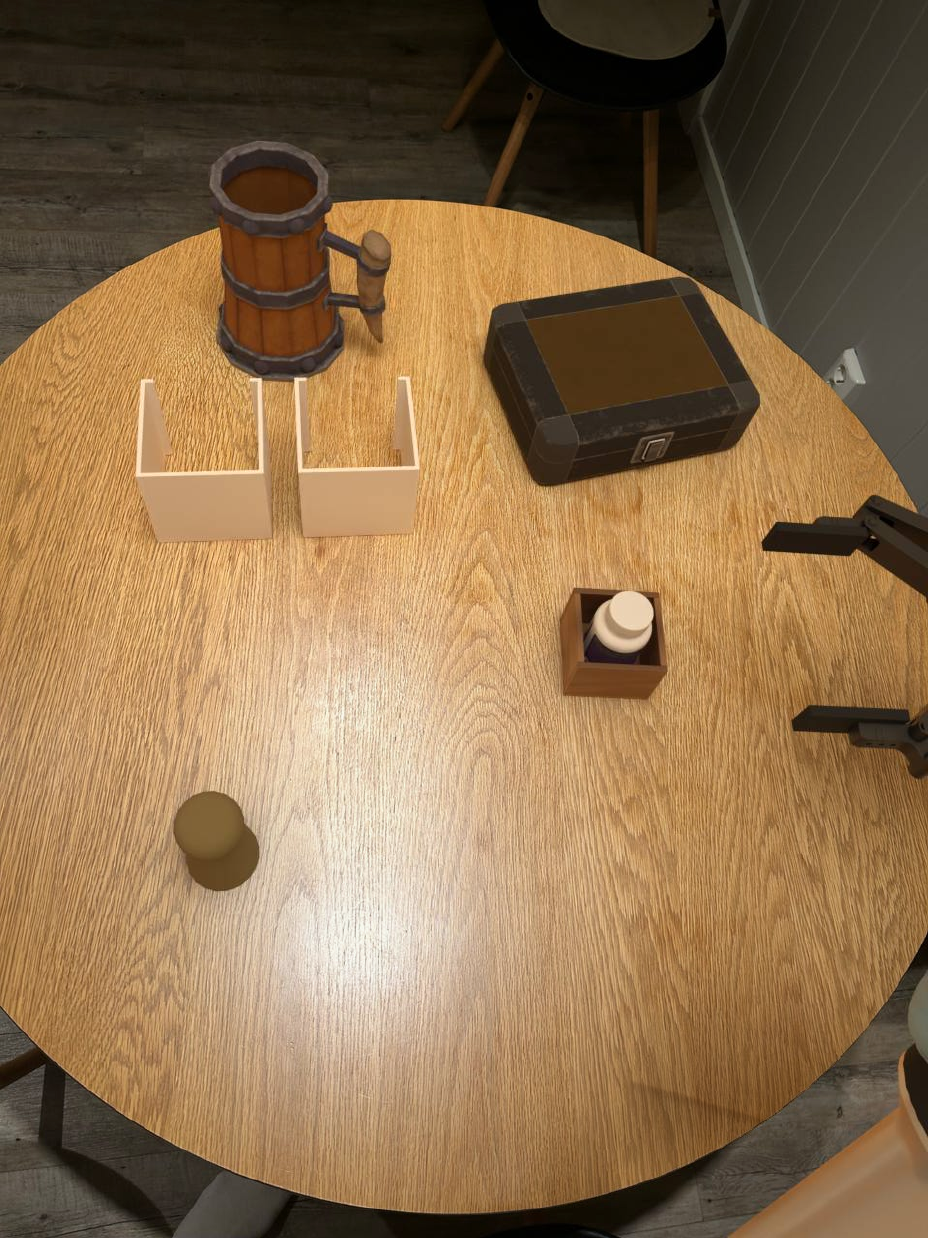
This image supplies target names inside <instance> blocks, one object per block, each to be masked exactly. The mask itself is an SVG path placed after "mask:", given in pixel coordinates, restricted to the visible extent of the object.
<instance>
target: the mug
mask: <svg viewBox="0 0 928 1238" xmlns="http://www.w3.org/2000/svg"><path fill="white" fill-rule="evenodd" d="M207 178H208V180H209V185H208V188H209V195H210V202H209V208H210V210H211V212H212V213H213V214H214V215H216V216H217V219H218V220H217V221H218V227H219V234H220V241H221V255H220V263H219V264H220V269H221V271H220V272H221V277H222V279H223V281H224V283H223V284H224V300H223V301H222V303H220V304H219V306H218V313H219V314H218V321H217V322H218V323H217V330H216V343H217V345H218V346H219V348H220V349H221V351H222V352H223V354H224V356H225V357H226V359H227V361H228V362H229V364H230V366H232V367H234V368H236V369H237V370H240V371H241V372H244V373H246V374H248V375H250V376H251V377H252V378H262V381H266V382H284V383H285V382H287V383H289V382H290V383H295V380H294V378H306V379H308V378H310V377H313V376H315V375H318V374H321V373H323V372H326V371H327V370H328V369H329V368H330V367H331V366H332V364H333V363H334V362H335V361H336V359H337V358H338V357H339V356H340V355H341V354H342V352H343V351H344V350H345V324H346V321H345V319H344V318H343V317H342V315H341V314H340V307H343V308H350V309H358V311H359V312H360V313H361V314H362V316H363V318H364V321H365V323H366V326H367V328H368V331H369V333H370V334H371V335H372V337H373V338H374V339H375V341H377V342H378V343H379V344H381V345H382V344H384V333H383V315H384V313H385V311H386V309H387V304H386V296H385V294H384V289H385V285H386V279H387V274H388V272H389V270H390V267H391V265H392V255H393V254H392V253H393V252H392V244H391V243H390V242H389V240H388V239H387V238H386V236H385V235H384V234H383V233H381V232H380V231H376V230H373V229H369V230H368V231H366V232H365V233H363V234H362V238H361V243H360V245H358V244H356V243H354V242H352V241H350V240H348V239H346V238H344V237H341V236H339V235H338V234H336V233H333V232H331V231H329V230H328V229H329V228H328V222H326V215H327V214H329V213H330V212H331V211H332V208H333V206H334V203H333V200H332V198H331V196H330V195H329V194H330V193H329V192H330V189H329V171H328V170H327V168H326V167H325V166H323V165H322V164H321V162H320V161H319V160H318V159H317V157H316V156H315V155H314V154H312V153H310V152H308V151H306V150H303V149H301V148H299V147H297V146H295V145H292V144H290V143H288V142H278V141H266V140H256V141H251V142H249V143H245V144H242V145H238V146H234V147H231V148H229V149H228V150H227V151H226V152H225V153H224V154H222V155H221V156H220V157H219V158H218V159H217V160H216V161H215V162H213V164H211V167H210V168H209V170H208V172H207ZM330 249H331V250H334V251H336V252H338V253H340V254H343V255H345V256H347V257H349V258H351V259H353V260H355V264H356V288H357V294H351V293H349V294H348V293H340V292H333V288H332V283H331V276H330V269H331V267H330V266H331V258H330V257H331V256H330V254H331V252H330Z"/></svg>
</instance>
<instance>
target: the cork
mask: <svg viewBox="0 0 928 1238" xmlns="http://www.w3.org/2000/svg"><path fill="white" fill-rule="evenodd" d="M172 827H173V828H172V832H173V836H174V840H175V843H176V844H177V846H178V847H179V849H180V850H181V851H182V853H184V854H185V863H186V866H187V869H188V873H189V875H190V877H192V879H193V880H194V881H195V883H196V884H198V885H200V886H201V887H202V888H204V889H207V890H211V891H215V892H224V891H225V892H226V891H230V890H233V889H235V888H238V887H241V885H243V884H244V883H246V881H248V880H249V879H250V878H251V877H252V875H253V874H254V872H255V871H256V869H257V867H258V863H259V861H260V844H259V841H258V839H257V836H256V835H255V833H254V832H253V831H252V829H251V828H250V827H249V826H248V825H247V824H246V823H245V816H244V813H243V810H242V808H241V806H240V805H239V804H238V802H237V801H236V800H235V799H234V798H232V797H231V796H229V795H228V794H227V793H225V792H224V793H223V792H219V791H216V790H209V791H208V790H207V791H201V792H199V793H195V794H193V795H192V796H190V797H189V798H187V799H186V800H185V801H184V802H183V803H182V805H180V807H179V808H178V810H177V812H176V814H175V817H174V820H173V825H172Z"/></svg>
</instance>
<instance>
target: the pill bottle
mask: <svg viewBox="0 0 928 1238" xmlns="http://www.w3.org/2000/svg"><path fill="white" fill-rule="evenodd" d="M634 591H635V590H626V591H623V592H620V593H618V594H616V595H615V596H614V597H613V598H612V599H611V600H608V601H606V602H605V603H603V604H602V605H601V606H600V607H599V608H598V610H597V611H596V613H595V615H594V617H593V619H592V621H591V623H590V625H589V627H588V629H587V631H586V633H585V635H584V637H583V644H584V660H585V662H591V663H611V664H631V665H633V664H634V662H635V661H636V659H637V658H638V656H639V654H640V653H641V651H642V650H643V648H644V647H645V645H646V644H647V642H648V640H649V638H650V636H651V633H652V623H651V622H652V619H653V608H652V605H651V603H650V602H649V600H648V599H647V598H646V597H645V596H643V595H642V594H640V593H637V592H634Z"/></svg>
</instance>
